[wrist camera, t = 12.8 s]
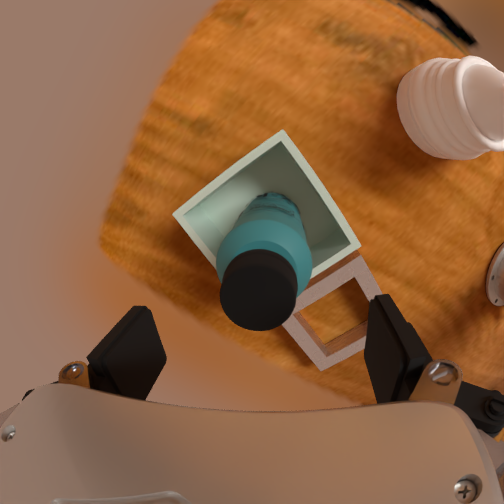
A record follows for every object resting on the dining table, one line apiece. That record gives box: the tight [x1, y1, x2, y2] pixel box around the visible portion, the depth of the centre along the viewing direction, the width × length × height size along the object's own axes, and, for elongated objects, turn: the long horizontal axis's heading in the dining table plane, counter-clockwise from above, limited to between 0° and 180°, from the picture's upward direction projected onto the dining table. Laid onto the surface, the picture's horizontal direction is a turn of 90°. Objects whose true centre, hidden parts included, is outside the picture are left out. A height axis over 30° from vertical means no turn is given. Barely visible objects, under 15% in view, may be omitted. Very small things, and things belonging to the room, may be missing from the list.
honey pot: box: [397, 56, 504, 160], centre depth 17 cm, size 13×13×18 cm
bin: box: [172, 129, 361, 279], centre depth 30 cm, size 14×14×7 cm
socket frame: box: [282, 249, 382, 371], centre depth 35 cm, size 13×13×3 cm
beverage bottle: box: [216, 191, 312, 331], centre depth 23 cm, size 6×7×20 cm
